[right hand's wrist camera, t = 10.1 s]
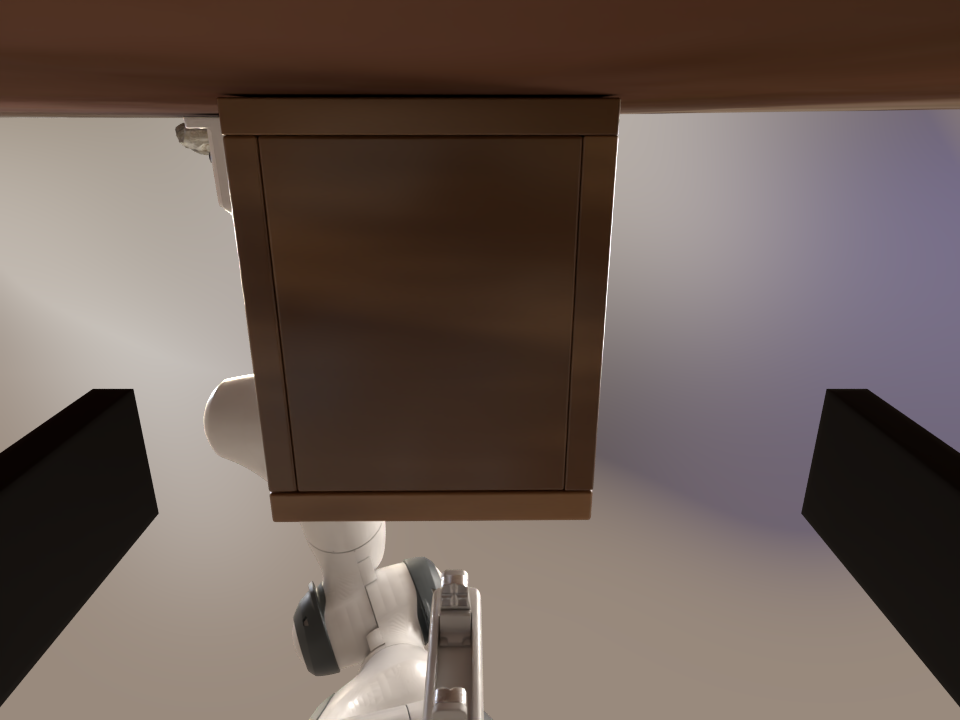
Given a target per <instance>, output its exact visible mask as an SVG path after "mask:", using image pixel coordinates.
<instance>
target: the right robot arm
mask: <svg viewBox="0 0 960 720" xmlns="http://www.w3.org/2000/svg"><path fill="white" fill-rule="evenodd" d="M157 515H158V508H157V503H156V498H155V493H154V488H153V483H152V478H151V473H150V468H149V464H148V459H147V454H146V449H145V444H144V439H143V434H142V429H141V424H140V419H139V414H138V410H137V405H136V400H135V395H134V390H133V389H92V390H91V391H89V392H88V393H86V394H85V395H84V396H82V397H81V398H79V399H78V400H76V401H75V402H73V403H72V404H70V405H69V406H68V407H66V408H65V409H63V410H62V411H60V412H59V413H57V414H56V415H55V416H53V417H52V418H50V419H49V420H47V421H46V422H44V423H43V424H42V425H40V426H39V427H37V428H36V429H34V430H33V431H31V432H30V433H29V434H27V435H26V436H24V437H23V438H21V439H20V440H18V441H17V442H16V443H14V444H13V445H11V446H10V447H8V448H7V449H5V450H4V451H3V452H1V453H0V707H1V705H2V704H3V703H4V702H5V700H6V699H7V698H8V697H9V696H10V694H11V693H12V692H13V691H14V690H15V688H16V687H17V686H18V685H19V683H20V682H21V681H22V680H23V678H24V677H25V676H26V675H27V674H28V672H29V671H30V670H31V669H32V668H33V666H34V665H35V664H36V663H37V661H38V660H39V659H40V658H41V657H42V655H43V654H44V653H45V652H46V650H47V649H48V648H49V647H50V645H51V644H52V643H53V642H54V641H55V639H56V638H57V637H58V636H59V635H60V633H61V632H62V631H63V630H64V628H65V627H66V626H67V625H68V623H69V622H70V621H71V620H72V619H73V617H74V616H75V615H76V614H77V613H78V611H79V610H80V609H81V608H82V606H83V605H84V604H85V603H86V602H87V600H88V599H89V598H90V597H91V595H92V594H93V593H94V592H95V590H96V589H97V588H98V587H99V586H100V584H101V583H102V582H103V581H104V580H105V578H106V577H107V576H108V575H109V573H110V572H111V571H112V570H113V569H114V567H115V566H116V565H117V564H118V562H119V561H120V560H121V559H122V557H123V556H124V555H125V554H126V553H127V551H128V550H129V549H130V548H131V547H132V545H133V544H134V543H135V542H136V540H137V539H138V538H139V537H140V536H141V534H142V533H143V532H144V531H145V529H146V528H147V527H148V526H149V525H150V523H151V522H152V521H153V520H154V518H155V517H156V516H157ZM802 515H803V516H804V517H805V518H806V520H807V521H808V522H809V523H810V525H811V526H812V527H813V528H814V529H815V531H816V532H817V533H818V534H819V536H820V537H821V538H822V539H823V540H824V542H825V543H826V544H827V545H828V547H829V548H830V549H831V550H832V551H833V553H834V554H835V555H836V556H837V558H838V559H839V560H840V561H841V562H842V564H843V565H844V566H845V567H846V569H847V570H848V571H849V572H850V573H851V575H852V576H853V577H854V578H855V580H856V581H857V582H858V583H859V584H860V586H861V587H862V588H863V589H864V591H865V592H866V593H867V594H868V595H869V597H870V598H871V599H872V600H873V602H874V603H875V604H876V605H877V606H878V608H879V609H880V610H881V611H882V613H883V614H884V615H885V616H886V617H887V619H888V620H889V621H890V622H891V623H892V625H893V626H894V627H895V628H896V630H897V631H898V632H899V633H900V635H901V636H902V637H903V638H904V639H905V641H906V642H907V643H908V644H909V646H910V647H911V648H912V649H913V650H914V652H915V653H916V654H917V655H918V657H919V658H920V659H921V660H922V661H923V663H924V664H925V665H926V666H927V667H928V669H929V670H930V671H931V672H932V674H933V675H934V676H935V677H936V678H937V680H938V681H939V682H940V683H941V685H942V686H943V687H944V688H945V690H946V691H947V692H948V693H949V694H950V696H951V697H952V698H953V699H954V701H955V702H956V703H957V704H958V705H959V707H960V453H959V452H957V451H956V450H955V449H953V448H952V447H950V446H949V445H947V444H946V443H944V442H943V441H942V440H940V439H939V438H937V437H936V436H934V435H933V434H931V433H930V432H929V431H927V430H926V429H924V428H923V427H921V426H920V425H918V424H917V423H916V422H914V421H913V420H911V419H910V418H908V417H907V416H905V415H904V414H903V413H901V412H900V411H898V410H897V409H895V408H894V407H892V406H891V405H890V404H888V403H887V402H885V401H884V400H882V399H881V398H879V397H878V396H876V395H875V394H874V393H872V392H871V391H869V390H868V389H827V390H826V395H825V400H824V405H823V410H822V414H821V420H820V424H819V429H818V434H817V439H816V444H815V449H814V454H813V459H812V464H811V469H810V473H809V478H808V483H807V488H806V493H805V498H804V503H803V508H802Z"/></svg>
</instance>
